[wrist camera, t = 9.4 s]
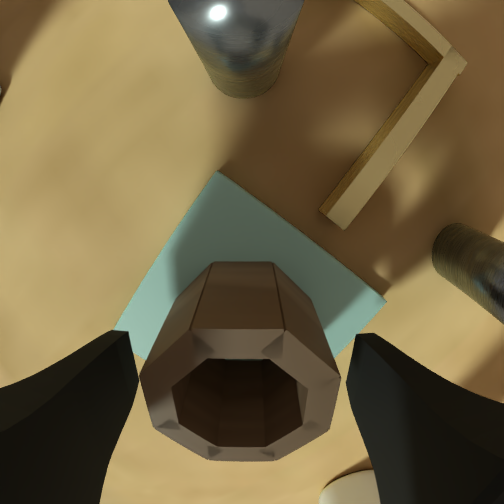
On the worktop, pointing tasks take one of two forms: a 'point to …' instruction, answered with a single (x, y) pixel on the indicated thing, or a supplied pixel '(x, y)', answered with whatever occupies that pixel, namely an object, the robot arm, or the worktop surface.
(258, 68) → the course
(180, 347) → the octagonal hollow tube
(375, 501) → the drinking glass
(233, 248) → the pad
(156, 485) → the worktop surface
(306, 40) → the worktop surface
